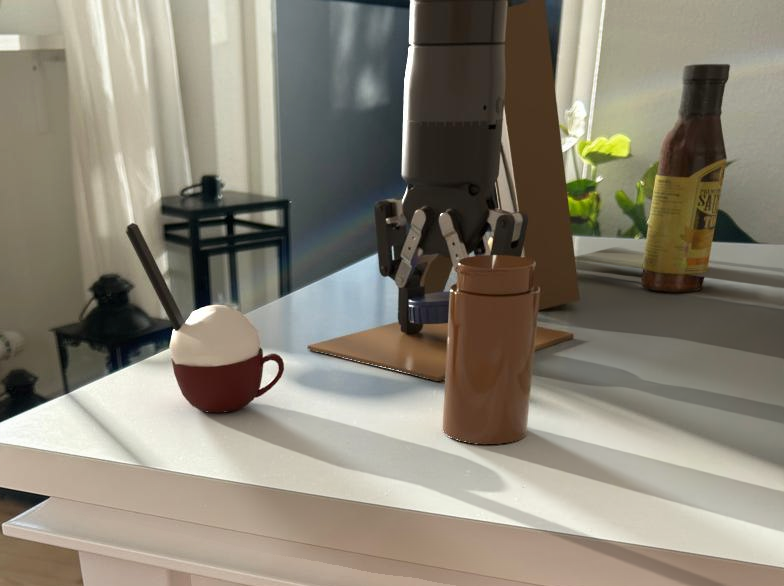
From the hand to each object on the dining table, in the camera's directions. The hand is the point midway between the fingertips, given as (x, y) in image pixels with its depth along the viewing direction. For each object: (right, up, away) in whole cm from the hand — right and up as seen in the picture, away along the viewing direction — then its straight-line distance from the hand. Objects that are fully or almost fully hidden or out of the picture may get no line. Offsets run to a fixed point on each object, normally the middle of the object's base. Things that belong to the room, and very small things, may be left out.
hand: (441, 337), depth 86 cm
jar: (0, -12, -19) cm, 23 cm away
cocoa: (-18, -9, -13) cm, 24 cm away
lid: (0, +3, -1) cm, 3 cm away
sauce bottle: (+26, +10, +18) cm, 33 cm away
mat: (0, 0, 0) cm, 0 cm away
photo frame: (+7, +11, +20) cm, 24 cm away
